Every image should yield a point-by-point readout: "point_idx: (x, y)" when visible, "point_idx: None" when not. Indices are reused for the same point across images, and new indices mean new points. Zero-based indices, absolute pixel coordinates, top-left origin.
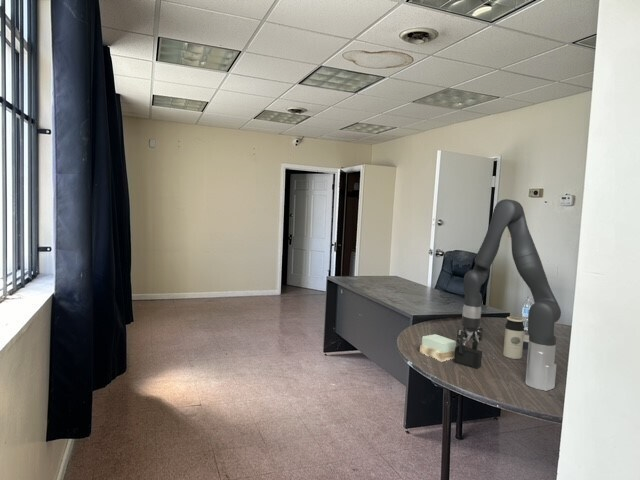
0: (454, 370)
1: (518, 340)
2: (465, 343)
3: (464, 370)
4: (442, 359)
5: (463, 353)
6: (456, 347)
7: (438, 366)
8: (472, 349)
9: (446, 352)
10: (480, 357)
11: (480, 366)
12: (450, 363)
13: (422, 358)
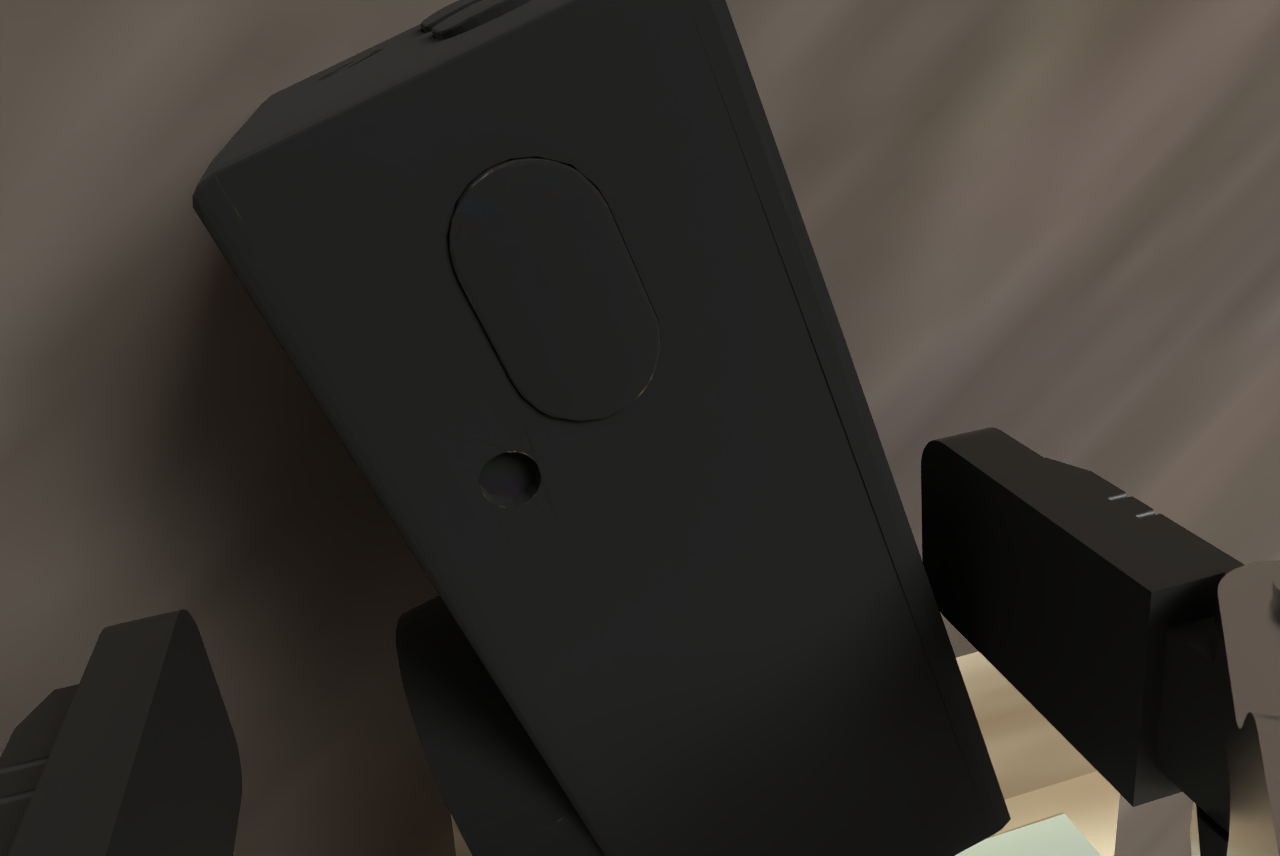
0: (1187, 117)
1: None
2: (1236, 648)
3: (974, 25)
4: (1001, 679)
5: (963, 435)
6: (972, 819)
7: (1273, 426)
8: (534, 534)
9: None
10: (373, 67)
11: (303, 80)
12: (910, 520)
13: (1178, 829)
